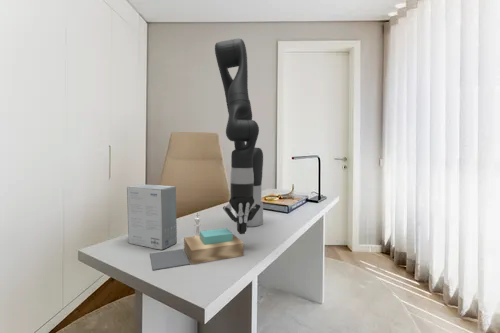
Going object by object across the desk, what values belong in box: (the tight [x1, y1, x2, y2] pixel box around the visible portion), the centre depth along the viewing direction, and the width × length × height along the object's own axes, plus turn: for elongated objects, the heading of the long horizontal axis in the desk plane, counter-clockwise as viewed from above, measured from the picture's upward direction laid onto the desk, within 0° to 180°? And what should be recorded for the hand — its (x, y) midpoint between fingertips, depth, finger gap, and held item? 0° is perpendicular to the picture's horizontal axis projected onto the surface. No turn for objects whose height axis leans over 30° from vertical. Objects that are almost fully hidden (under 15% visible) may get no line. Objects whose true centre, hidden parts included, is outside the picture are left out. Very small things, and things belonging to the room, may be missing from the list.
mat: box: [149, 248, 191, 271], centre depth 81 cm, size 10×12×1 cm
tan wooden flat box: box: [183, 233, 245, 265], centre depth 87 cm, size 16×12×4 cm
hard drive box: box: [126, 183, 178, 251], centre depth 94 cm, size 16×8×20 cm, turn 66°
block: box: [199, 227, 234, 245], centre depth 87 cm, size 9×6×2 cm, turn 114°
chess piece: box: [194, 212, 201, 236], centre depth 97 cm, size 5×5×10 cm
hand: (241, 233), depth 90 cm, fingers closed
